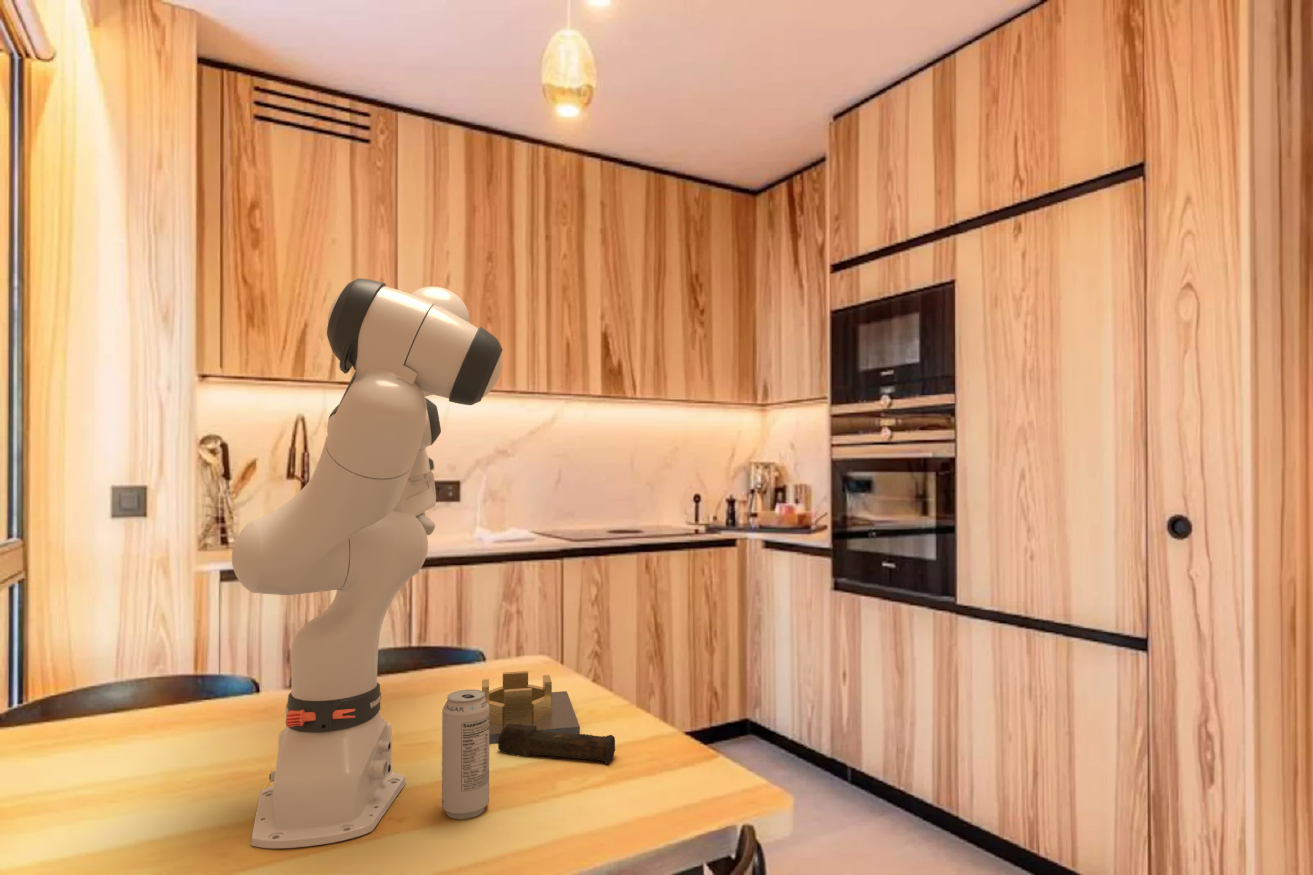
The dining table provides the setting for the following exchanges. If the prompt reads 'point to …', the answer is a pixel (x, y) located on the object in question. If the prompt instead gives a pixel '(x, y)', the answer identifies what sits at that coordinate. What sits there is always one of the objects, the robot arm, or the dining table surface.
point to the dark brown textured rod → (555, 743)
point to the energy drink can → (465, 754)
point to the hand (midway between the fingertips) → (417, 539)
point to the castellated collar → (528, 706)
